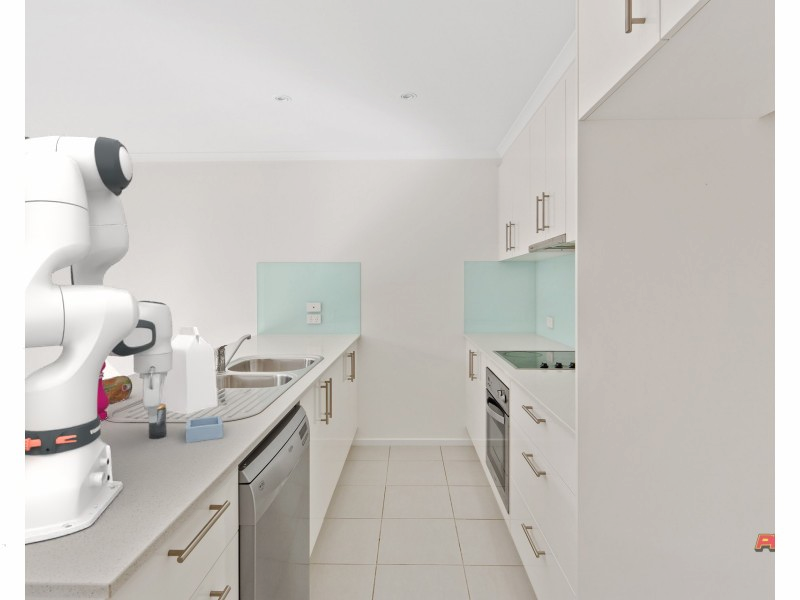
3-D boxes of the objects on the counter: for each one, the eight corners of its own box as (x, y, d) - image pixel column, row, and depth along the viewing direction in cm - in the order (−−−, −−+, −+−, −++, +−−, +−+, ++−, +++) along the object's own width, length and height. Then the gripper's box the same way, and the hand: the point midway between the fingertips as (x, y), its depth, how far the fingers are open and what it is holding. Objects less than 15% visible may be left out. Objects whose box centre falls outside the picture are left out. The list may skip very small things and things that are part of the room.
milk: (160, 409, 139) (159, 327, 138) (192, 401, 150) (191, 324, 149) (187, 414, 134) (185, 328, 133) (217, 405, 144) (216, 325, 144)
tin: (94, 409, 140) (93, 382, 139) (86, 408, 140) (85, 382, 140) (133, 397, 154) (133, 373, 154) (125, 397, 155) (125, 373, 155)
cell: (166, 437, 113) (165, 404, 113) (148, 439, 112) (147, 406, 111) (167, 433, 117) (166, 400, 117) (149, 435, 115) (149, 402, 115)
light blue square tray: (222, 437, 113) (222, 424, 113) (185, 442, 110) (185, 428, 110) (221, 428, 121) (221, 415, 121) (186, 432, 117) (186, 419, 117)
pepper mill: (94, 424, 125) (92, 353, 124) (72, 422, 126) (71, 352, 125) (115, 416, 132) (114, 349, 131) (94, 415, 133) (93, 348, 132)
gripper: (166, 370, 106) (166, 427, 107) (168, 356, 124) (168, 405, 125) (135, 372, 103) (136, 430, 104) (142, 357, 122) (143, 407, 122)
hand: (154, 416), depth 115 cm, fingers open, 8 cm apart
